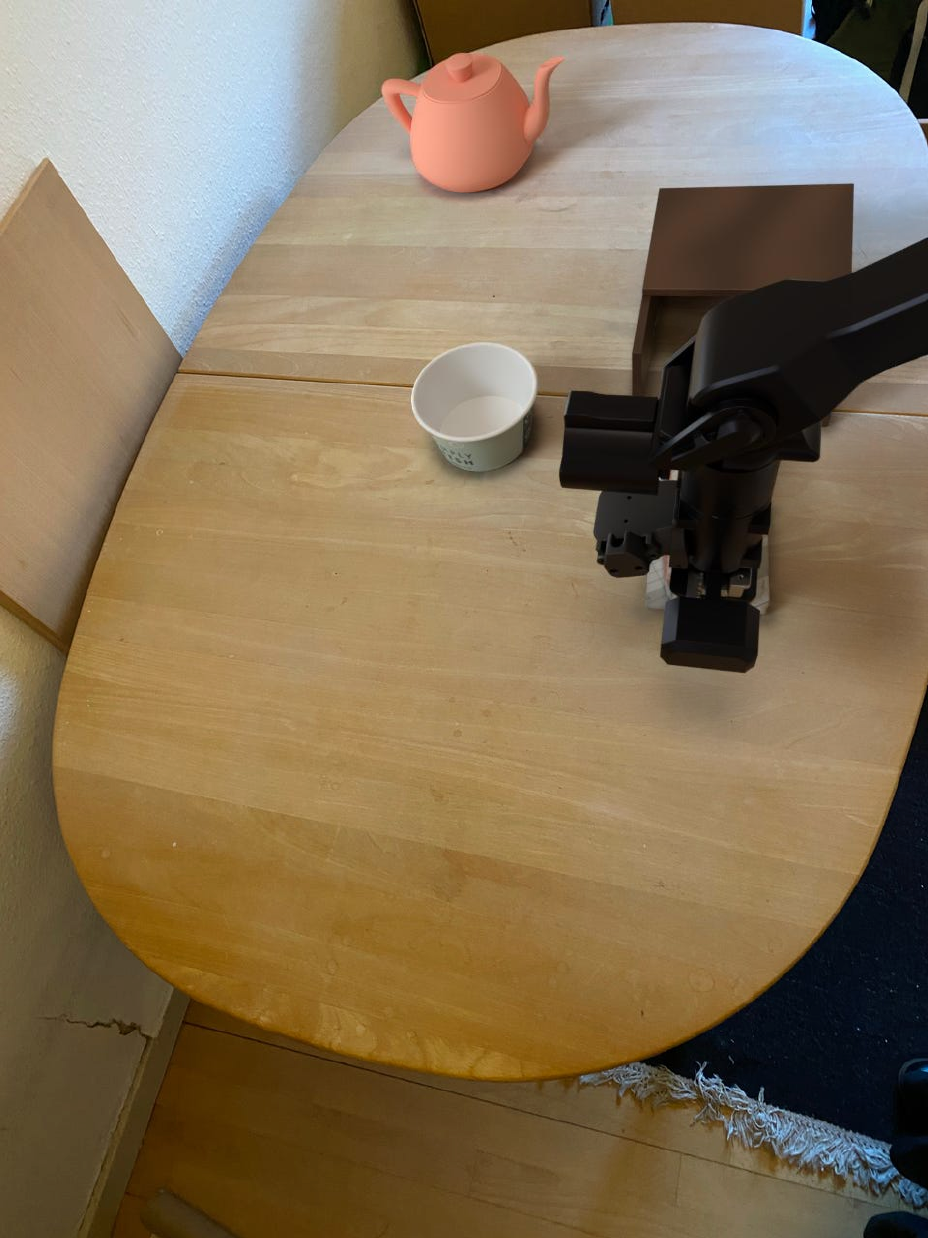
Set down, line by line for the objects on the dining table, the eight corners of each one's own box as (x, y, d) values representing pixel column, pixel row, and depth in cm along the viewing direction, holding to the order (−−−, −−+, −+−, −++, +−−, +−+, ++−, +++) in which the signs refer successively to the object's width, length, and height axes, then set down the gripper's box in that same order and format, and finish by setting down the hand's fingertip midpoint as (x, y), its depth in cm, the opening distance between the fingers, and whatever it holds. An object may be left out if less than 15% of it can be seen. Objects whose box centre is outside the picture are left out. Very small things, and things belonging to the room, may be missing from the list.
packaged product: (776, 590, 64) (645, 585, 67) (768, 618, 69) (644, 613, 71) (772, 408, 72) (654, 410, 74) (765, 444, 76) (654, 444, 79)
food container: (405, 463, 83) (387, 420, 78) (460, 376, 87) (447, 329, 82) (511, 498, 79) (502, 454, 73) (564, 404, 83) (559, 356, 77)
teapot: (583, 122, 103) (577, 14, 92) (557, 204, 97) (547, 98, 86) (417, 124, 109) (393, 23, 98) (383, 202, 103) (353, 103, 92)
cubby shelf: (833, 266, 85) (854, 182, 77) (827, 426, 76) (849, 351, 68) (657, 266, 89) (659, 187, 81) (632, 417, 81) (631, 346, 73)
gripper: (617, 370, 59) (619, 501, 73) (580, 597, 51) (590, 696, 65) (783, 375, 57) (753, 509, 70) (772, 615, 48) (740, 715, 62)
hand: (707, 602), depth 67 cm, fingers closed
